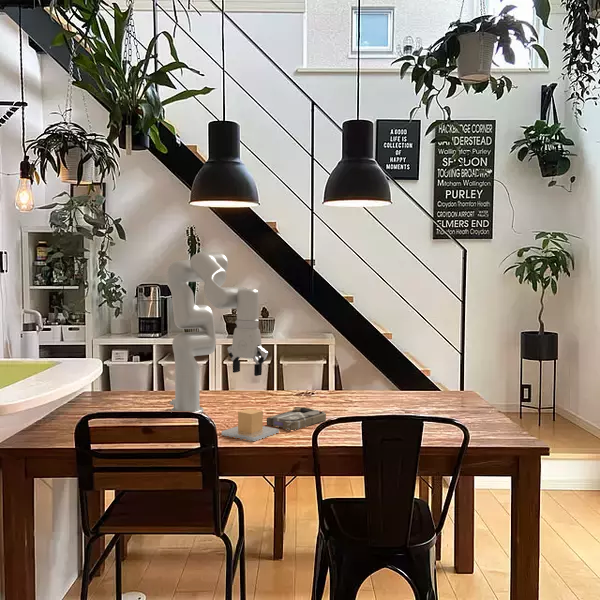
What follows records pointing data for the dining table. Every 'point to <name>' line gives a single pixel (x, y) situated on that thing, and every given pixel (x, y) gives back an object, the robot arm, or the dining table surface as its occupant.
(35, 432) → the dining table surface
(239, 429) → the wooden toy block
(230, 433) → the plate
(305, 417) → the grey flat case
